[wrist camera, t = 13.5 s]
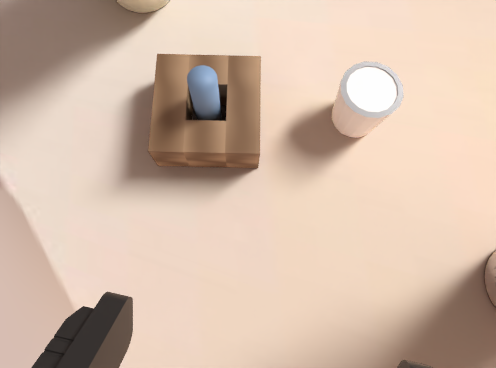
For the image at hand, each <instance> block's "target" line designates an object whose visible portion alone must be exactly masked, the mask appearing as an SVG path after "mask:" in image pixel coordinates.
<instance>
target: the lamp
mask: <svg viewBox="0 0 496 368" xmlns="http://www.w3.org/2000/svg"><path fill="white" fill-rule="evenodd" d="M116 1H117V2H118V3H119V5H121V6H122V7H124V8H125V9H127V10H130V11H133V12H137V13H148V12H152V11H156V10H158V9H160V8H162V7H163V6H165V5H166V4H167V3H168V2H169V1H170V0H116Z"/></svg>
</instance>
